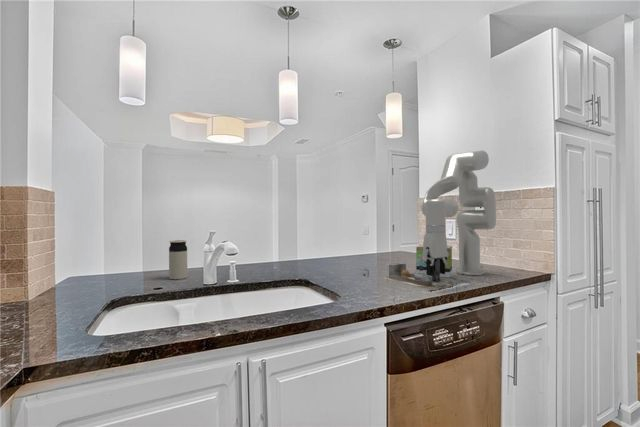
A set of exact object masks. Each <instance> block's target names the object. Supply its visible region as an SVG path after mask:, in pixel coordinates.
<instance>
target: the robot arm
mask: <svg viewBox="0 0 640 427" xmlns="http://www.w3.org/2000/svg"><path fill="white" fill-rule="evenodd" d="M489 160H490V158H489V154H488V153H487V152H486V151H485V150H475V151H467V152H459V153H458V152H457V153H453V154H451V155H449V156H447V157H446V159H445V164H444V166H443V170H442V174H441V177H440V179H439V180H437V181H436V182H434V183H433V185H431V187H429V188H428V190H427V191H426V192H425V194H424V197H423V201H422V205H421V212H422V215H424V216H425V233H424V236H423V243H422V245H423V255H422V258H423V260H424V262H425V265H426V274H427V275H430V276H429V277H432V276H434V266H433V263H434V259H437V258H440V273H441V274H445V264H446V260H447V257H448V255H449V253H448V252H447V246H448V242H447V234H446V230H447V228H446V218H452V217H455V216H456V225H457V230H458V269H456V270H455V273H456V274H458V273H459V274H458V275H462V274H464V275H463V276H472V275H477V276H483V275H485V274H484V271H483V270H481V269H484V267H485V265H484V264H482V263H481V240H480V236H479V234H478V233H477V232H476V231H475V230H488V231H489V230H494V229H495V227H496V224H497V210H496V209H497V206H496V204H497V202H496V194H495V193H496V192H495V191H494V190H493V188H492V187H487V186H485V187H483V186H482V187H479V185H478V184H479V183H478V177H477V175H476V174H475V172H474V171H481V170H483V169H486V168H487V166H488V165H489ZM456 189H458V201H459V204H460V206H462V208H463V207H464V208H483V209H465V210H460V211H459V206H458V203H457V202H456V201H455V200H453V199H451V198H450V199H449V198H446V199H444V198H443V199H440V198H439V197H440V196H442V195H443V196H444V195H445V194H447V193H450V192H453V191H454V190H456ZM458 211H459V212H458ZM429 259H430V260H431V262H430V260H429ZM482 274H483V275H482Z"/></svg>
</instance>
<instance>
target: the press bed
mask: <svg viewBox="0 0 640 427" xmlns="http://www.w3.org/2000/svg"><path fill="white" fill-rule="evenodd" d="M402 270H407V263H406V262H397V263H389V264H388V276H387V277H386V276H385V277H383V279H384V280H388V281H389V280H390V281H394V282H398V283H403V284H408V285H411V286H416V287H420V288H425V289H429V290H428V292H429V291H430V292H429V293H432V291H434V292H438V291H441V290H442V289H443V290H447V289H450V288H451V287H452V288H454V284H453V283H449V282H448V285H444V286H439V287H435V286H430V282H426V281H421V280H416V279H415V274H416V273H410V272H409V273H410V276H409V278H406V277H401V271H402ZM429 278H432V276H429ZM440 279H441V278H440ZM441 280H444V279H441ZM446 288H447V289H446ZM437 290H438V291H437Z"/></svg>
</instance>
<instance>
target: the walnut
mask: <svg viewBox="0 0 640 427" xmlns="http://www.w3.org/2000/svg"><path fill="white" fill-rule="evenodd" d="M409 276H410V271H409V270H408V269H406V270H402V271H401V277H406V278H409Z"/></svg>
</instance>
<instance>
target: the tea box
mask: <svg viewBox="0 0 640 427" xmlns="http://www.w3.org/2000/svg"><path fill="white" fill-rule="evenodd" d="M415 248H416V252H415V254H416V256H415V257H416V261H415V262H416V263H415V267H416V268H415V274H416V273H426V265H425V262H424V260H423V258H422V255H423V244H419V245H417V246H416V247H415ZM447 252H448V253H449V255H448V257H447V260H446V264H445V274H441V273H440V278H441V277H442V278H451V277H452V275H453V274H452V273H453V265H452V264H453V246H452V245H451V246H450V245H447ZM429 260H430V259H429ZM430 262H431V260H430ZM429 277H431V276H430V275H429Z"/></svg>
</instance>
